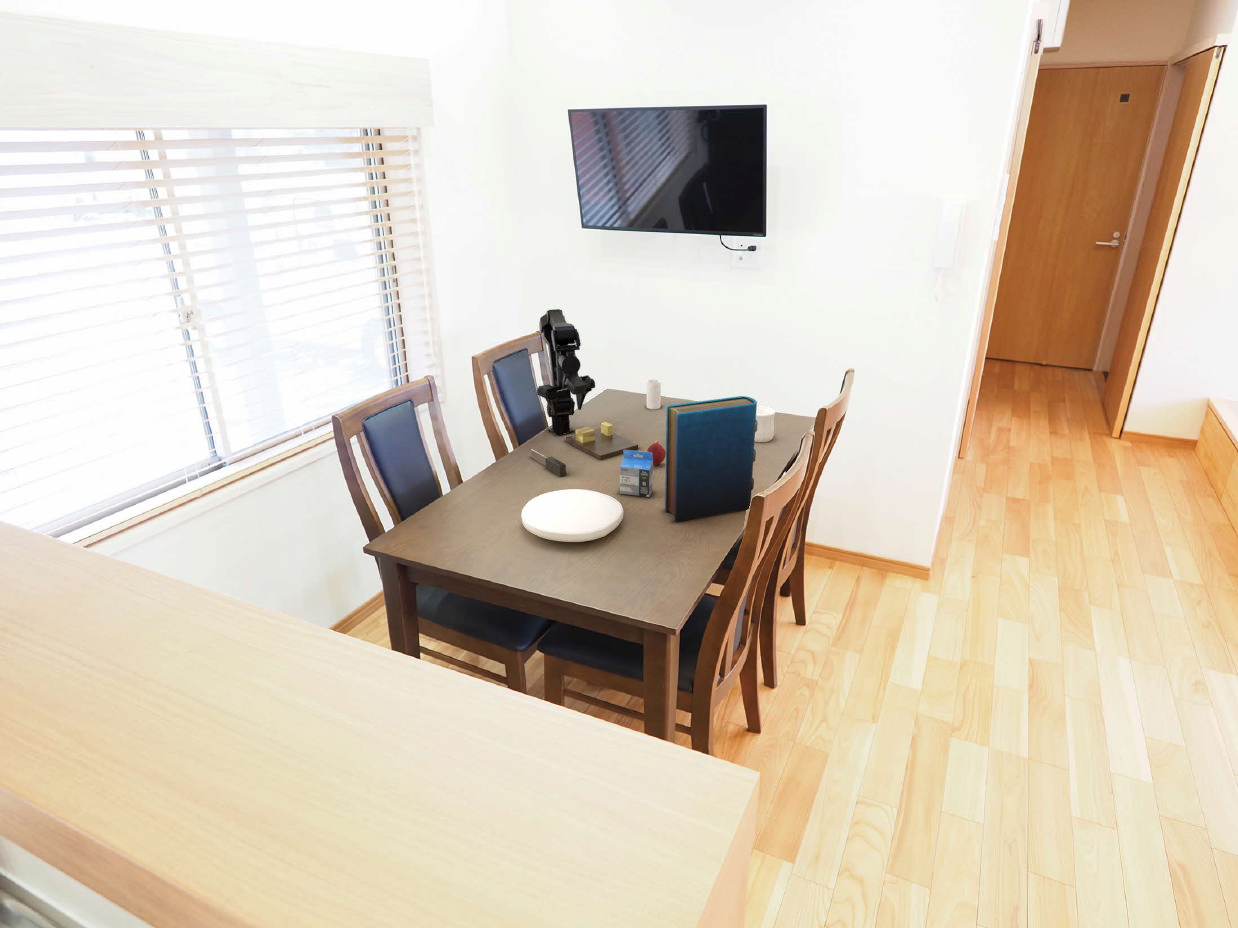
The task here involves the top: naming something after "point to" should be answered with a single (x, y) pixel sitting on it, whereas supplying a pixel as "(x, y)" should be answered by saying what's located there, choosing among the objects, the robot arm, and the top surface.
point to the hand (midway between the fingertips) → (567, 412)
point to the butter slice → (606, 429)
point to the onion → (657, 453)
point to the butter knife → (550, 463)
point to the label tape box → (636, 473)
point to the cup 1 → (653, 394)
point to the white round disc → (572, 515)
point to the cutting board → (600, 443)
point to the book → (710, 457)
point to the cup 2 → (764, 424)
